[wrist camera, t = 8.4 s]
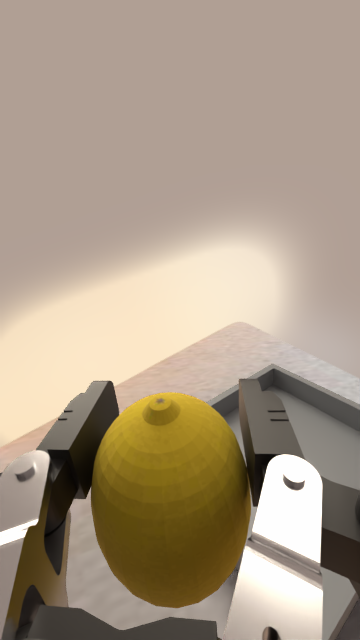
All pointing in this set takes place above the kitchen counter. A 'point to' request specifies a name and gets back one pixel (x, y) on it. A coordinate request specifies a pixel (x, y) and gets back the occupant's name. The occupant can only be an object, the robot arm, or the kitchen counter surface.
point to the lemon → (170, 499)
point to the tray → (311, 458)
